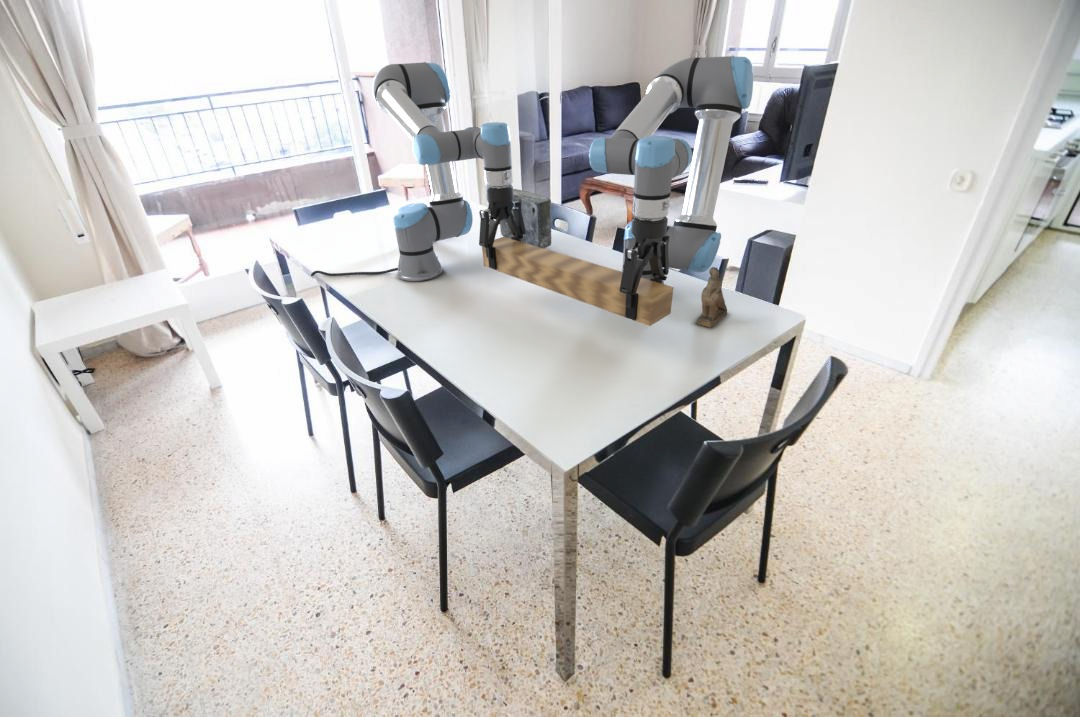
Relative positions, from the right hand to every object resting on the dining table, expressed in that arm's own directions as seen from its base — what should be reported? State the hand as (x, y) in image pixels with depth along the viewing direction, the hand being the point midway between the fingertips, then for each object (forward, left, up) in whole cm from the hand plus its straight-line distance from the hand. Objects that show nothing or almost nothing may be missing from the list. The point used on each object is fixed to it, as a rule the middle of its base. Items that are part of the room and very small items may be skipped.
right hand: (642, 311), depth 118 cm
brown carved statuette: (-29, +7, -12) cm, 32 cm away
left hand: (-5, -49, 0) cm, 49 cm away
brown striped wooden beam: (-2, -24, -1) cm, 24 cm away
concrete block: (-47, -77, -12) cm, 91 cm away
